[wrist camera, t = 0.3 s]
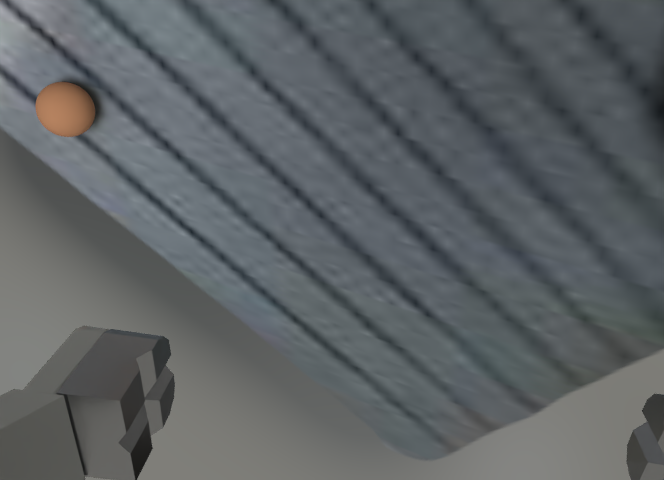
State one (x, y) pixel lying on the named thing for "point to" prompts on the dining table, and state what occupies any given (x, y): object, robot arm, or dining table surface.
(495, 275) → the dining table surface
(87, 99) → the ball
